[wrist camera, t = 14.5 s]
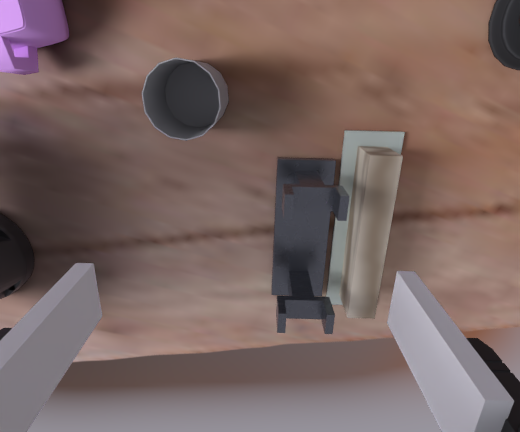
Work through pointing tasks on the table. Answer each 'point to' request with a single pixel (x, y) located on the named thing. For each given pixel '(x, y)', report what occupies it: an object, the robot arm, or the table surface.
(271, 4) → the table surface
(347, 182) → the mat
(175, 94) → the cup
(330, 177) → the rack
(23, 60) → the teapot
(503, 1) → the figurine
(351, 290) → the rail
